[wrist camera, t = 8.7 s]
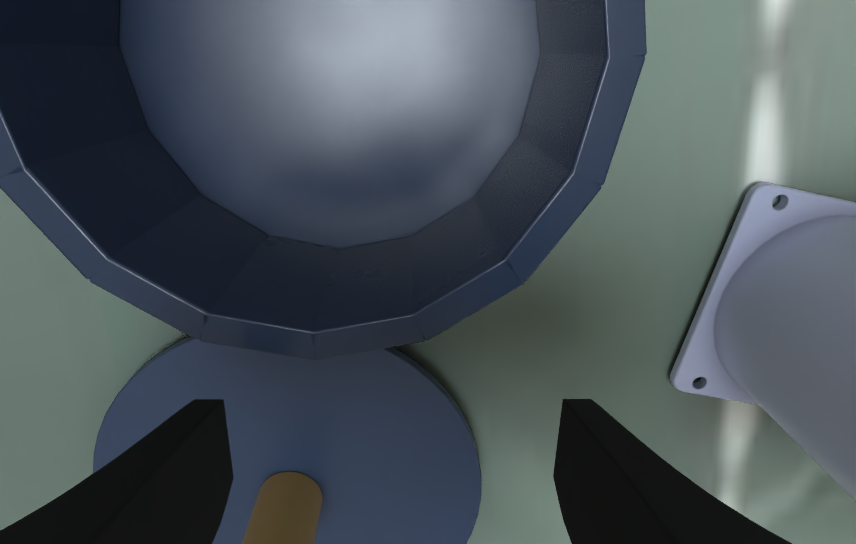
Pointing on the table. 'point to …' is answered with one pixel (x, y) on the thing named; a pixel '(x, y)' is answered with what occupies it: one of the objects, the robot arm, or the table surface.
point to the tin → (311, 154)
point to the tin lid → (317, 443)
